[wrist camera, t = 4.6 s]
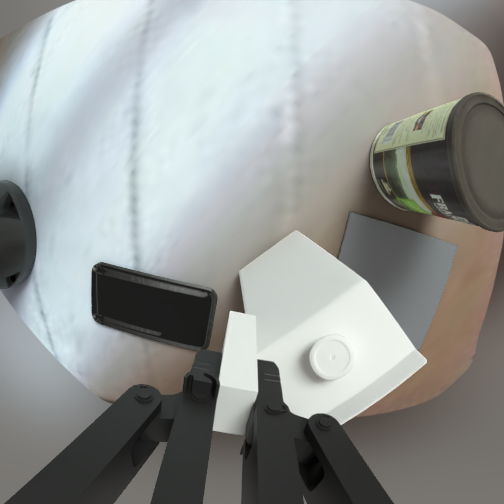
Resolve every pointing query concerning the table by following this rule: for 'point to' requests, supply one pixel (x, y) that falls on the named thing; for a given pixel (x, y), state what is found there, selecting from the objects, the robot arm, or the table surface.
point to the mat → (399, 269)
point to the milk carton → (324, 330)
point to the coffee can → (446, 162)
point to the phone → (153, 306)
